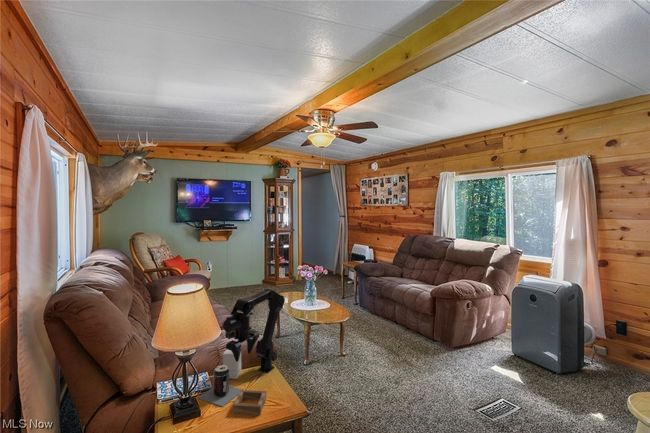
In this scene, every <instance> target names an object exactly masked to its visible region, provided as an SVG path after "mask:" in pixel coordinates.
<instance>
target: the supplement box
mask: <svg viewBox="0 0 650 433" xmlns="http://www.w3.org/2000/svg"><path fill="white" fill-rule="evenodd" d="M222 365H226V366H227V367H228V369H229V380H230V379H233V380H234V379H235V380H236V379H238V378H239V376H240V374H241V373H242V352H241V353H240V357H239V360H238V362H236V360H235V358H234V355H233V353H232V351H231V350H228V349H226V350H225V351H224V352H223V353H222Z"/></svg>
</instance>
